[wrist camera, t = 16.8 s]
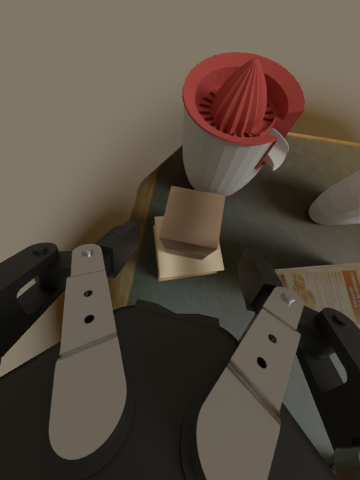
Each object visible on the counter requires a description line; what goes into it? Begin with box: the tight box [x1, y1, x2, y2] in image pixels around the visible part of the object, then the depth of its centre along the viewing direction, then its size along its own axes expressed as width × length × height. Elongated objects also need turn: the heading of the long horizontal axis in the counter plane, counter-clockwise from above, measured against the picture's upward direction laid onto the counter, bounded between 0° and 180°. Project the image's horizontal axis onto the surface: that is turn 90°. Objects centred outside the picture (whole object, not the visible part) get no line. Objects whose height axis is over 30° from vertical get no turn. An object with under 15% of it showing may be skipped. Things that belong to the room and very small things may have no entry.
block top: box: [155, 216, 224, 278], centre depth 24 cm, size 9×9×5 cm
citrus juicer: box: [182, 52, 304, 197], centre depth 26 cm, size 16×17×20 cm
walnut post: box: [159, 186, 225, 260], centre depth 18 cm, size 5×5×9 cm
